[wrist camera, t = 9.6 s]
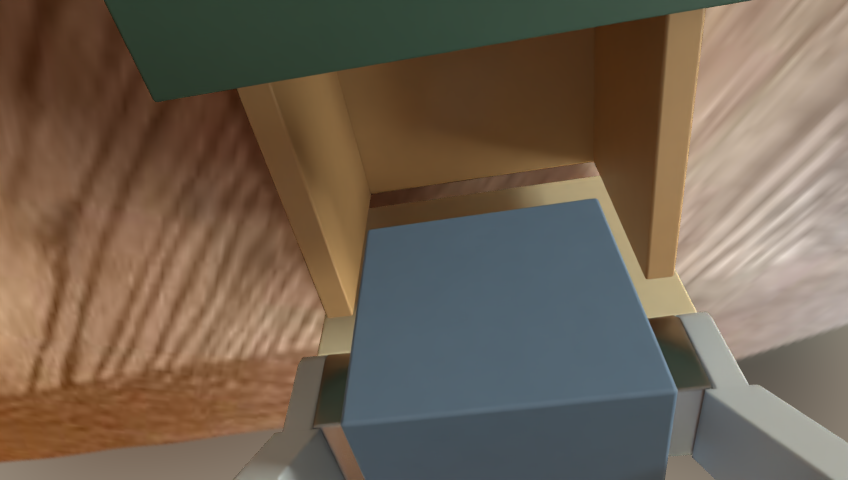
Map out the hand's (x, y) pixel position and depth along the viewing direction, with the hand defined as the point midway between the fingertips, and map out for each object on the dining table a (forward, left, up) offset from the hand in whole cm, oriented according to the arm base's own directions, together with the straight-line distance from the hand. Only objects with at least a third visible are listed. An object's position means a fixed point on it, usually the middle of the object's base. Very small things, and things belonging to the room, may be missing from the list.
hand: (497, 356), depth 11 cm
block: (0, 0, -2) cm, 2 cm away
